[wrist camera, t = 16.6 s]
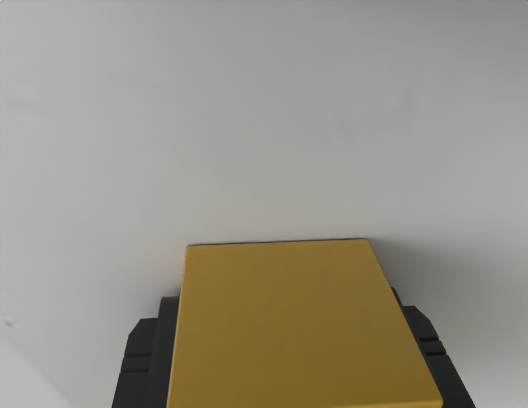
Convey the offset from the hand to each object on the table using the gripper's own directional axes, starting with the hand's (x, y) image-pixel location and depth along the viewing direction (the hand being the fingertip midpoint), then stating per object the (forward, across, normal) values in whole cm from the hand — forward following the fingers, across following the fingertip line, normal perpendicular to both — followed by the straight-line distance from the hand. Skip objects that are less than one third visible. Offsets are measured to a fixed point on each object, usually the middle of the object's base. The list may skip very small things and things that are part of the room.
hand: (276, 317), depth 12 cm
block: (0, 0, 0) cm, 0 cm away
